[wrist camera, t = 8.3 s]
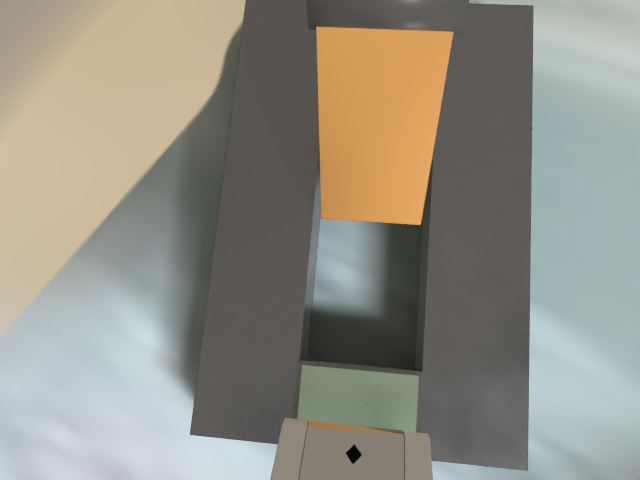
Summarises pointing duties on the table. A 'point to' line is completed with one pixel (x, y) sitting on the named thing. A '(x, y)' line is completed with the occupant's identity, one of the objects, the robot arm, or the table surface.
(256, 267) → the breaker box
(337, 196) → the lever
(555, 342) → the table surface
